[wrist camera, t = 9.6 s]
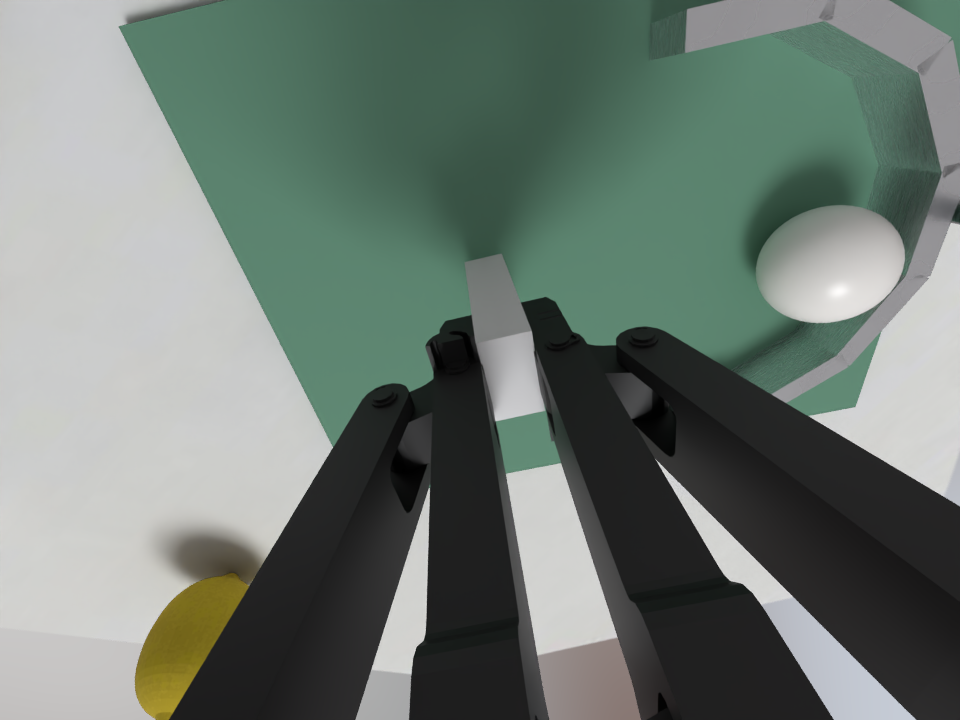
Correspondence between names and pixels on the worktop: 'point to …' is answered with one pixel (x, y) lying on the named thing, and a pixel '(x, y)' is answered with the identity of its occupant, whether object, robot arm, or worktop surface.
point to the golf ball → (830, 264)
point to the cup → (894, 136)
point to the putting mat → (503, 174)
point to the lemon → (184, 641)
